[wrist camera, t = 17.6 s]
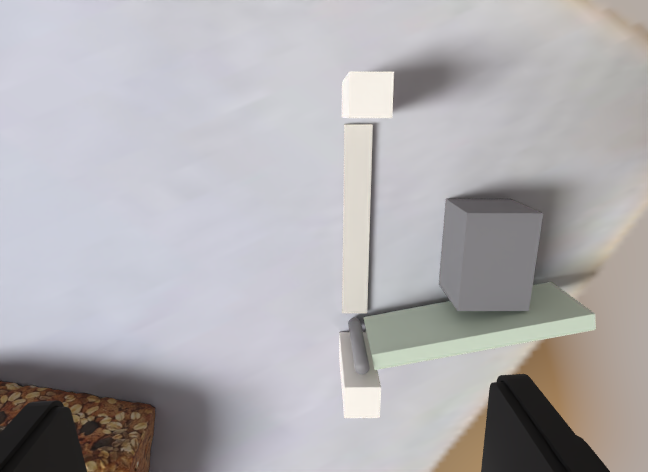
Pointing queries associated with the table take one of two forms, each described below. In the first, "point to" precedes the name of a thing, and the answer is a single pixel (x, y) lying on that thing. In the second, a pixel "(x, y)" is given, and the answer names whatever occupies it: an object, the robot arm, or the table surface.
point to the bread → (94, 425)
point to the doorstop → (489, 254)
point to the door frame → (359, 228)
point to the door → (464, 329)
